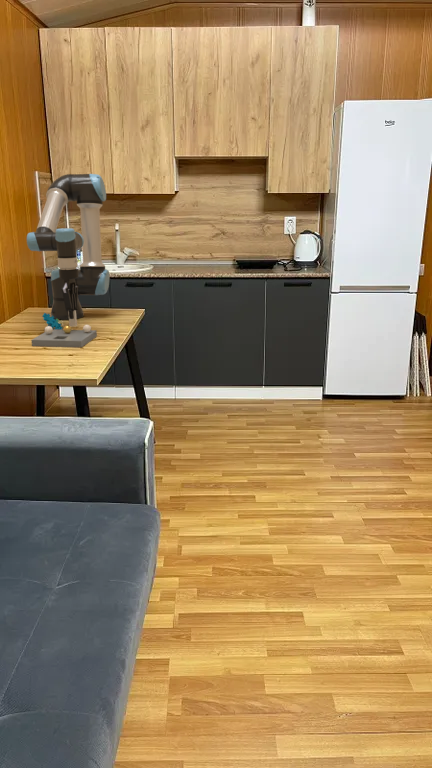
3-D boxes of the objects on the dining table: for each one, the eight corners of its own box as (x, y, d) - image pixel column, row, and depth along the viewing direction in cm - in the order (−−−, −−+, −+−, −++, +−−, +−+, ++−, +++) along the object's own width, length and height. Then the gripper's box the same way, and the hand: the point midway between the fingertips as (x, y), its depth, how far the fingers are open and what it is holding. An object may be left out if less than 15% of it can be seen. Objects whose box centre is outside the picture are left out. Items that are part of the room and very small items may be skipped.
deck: (50, 335, 234) (50, 329, 233) (96, 336, 232) (96, 330, 231) (32, 346, 217) (31, 339, 216) (81, 347, 215) (81, 341, 214)
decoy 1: (47, 332, 227) (46, 325, 226) (54, 333, 227) (53, 325, 226) (43, 334, 224) (42, 326, 223) (51, 335, 224) (50, 327, 223)
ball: (65, 332, 228) (64, 324, 227) (73, 332, 228) (72, 324, 227) (62, 334, 225) (61, 326, 224) (70, 334, 225) (69, 326, 224)
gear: (57, 329, 236) (40, 312, 236) (48, 339, 238) (31, 322, 237) (67, 327, 247) (51, 311, 247) (59, 336, 248) (43, 320, 248)
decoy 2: (84, 331, 229) (84, 323, 228) (92, 331, 229) (91, 324, 228) (82, 333, 226) (81, 325, 225) (89, 333, 226) (89, 325, 225)
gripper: (71, 270, 218) (76, 329, 226) (82, 266, 231) (87, 322, 238) (52, 270, 219) (58, 329, 227) (65, 266, 231) (70, 322, 239)
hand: (73, 326), depth 232 cm, fingers closed
